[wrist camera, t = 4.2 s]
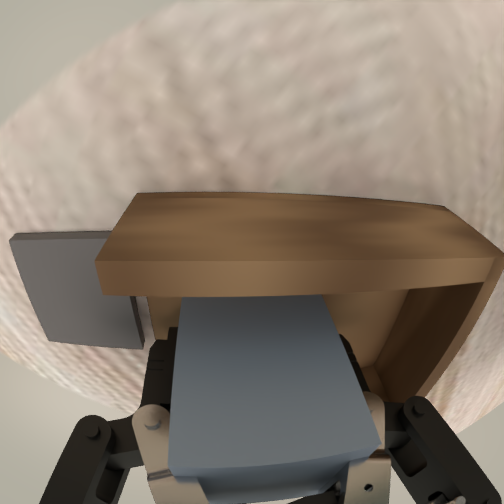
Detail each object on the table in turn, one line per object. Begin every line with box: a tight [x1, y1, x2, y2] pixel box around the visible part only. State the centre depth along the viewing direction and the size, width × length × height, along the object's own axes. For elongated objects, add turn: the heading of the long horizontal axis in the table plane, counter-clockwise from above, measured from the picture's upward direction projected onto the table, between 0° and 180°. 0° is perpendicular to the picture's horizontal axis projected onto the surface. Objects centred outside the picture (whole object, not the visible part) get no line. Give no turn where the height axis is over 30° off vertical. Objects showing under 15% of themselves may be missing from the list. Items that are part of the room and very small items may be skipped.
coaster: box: [9, 231, 145, 349], centre depth 12 cm, size 6×6×1 cm
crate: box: [94, 192, 504, 403], centre depth 12 cm, size 13×11×4 cm
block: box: [168, 294, 382, 504], centre depth 10 cm, size 5×5×7 cm
